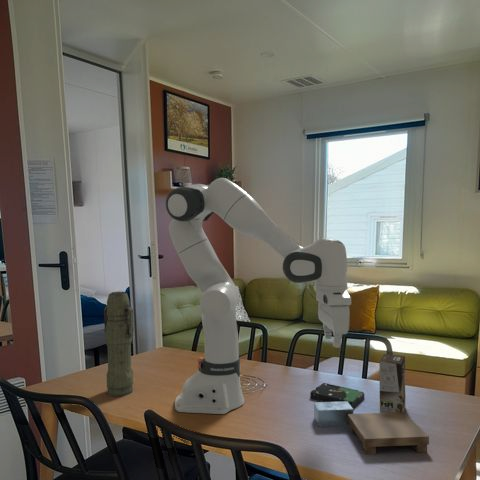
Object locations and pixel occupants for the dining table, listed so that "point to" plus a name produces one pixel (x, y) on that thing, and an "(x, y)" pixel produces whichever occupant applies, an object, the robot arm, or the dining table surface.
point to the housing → (332, 413)
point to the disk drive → (337, 394)
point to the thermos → (119, 344)
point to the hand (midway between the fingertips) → (332, 342)
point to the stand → (387, 431)
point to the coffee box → (392, 383)
